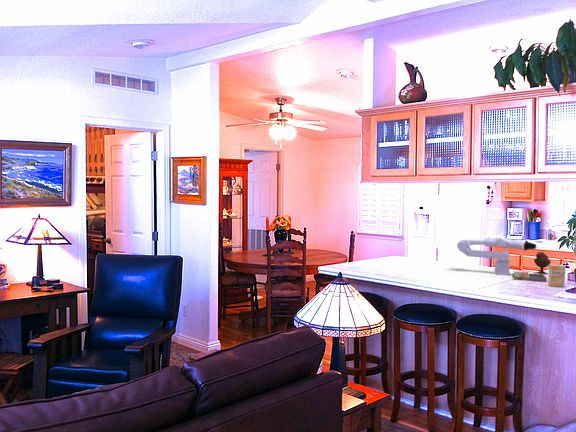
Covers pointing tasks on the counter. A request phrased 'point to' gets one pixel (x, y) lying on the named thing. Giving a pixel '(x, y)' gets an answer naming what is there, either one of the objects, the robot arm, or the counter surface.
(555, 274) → the supplement box
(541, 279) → the tray
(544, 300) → the counter surface
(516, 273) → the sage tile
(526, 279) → the walnut board
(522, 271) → the terracotta tile
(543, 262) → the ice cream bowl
